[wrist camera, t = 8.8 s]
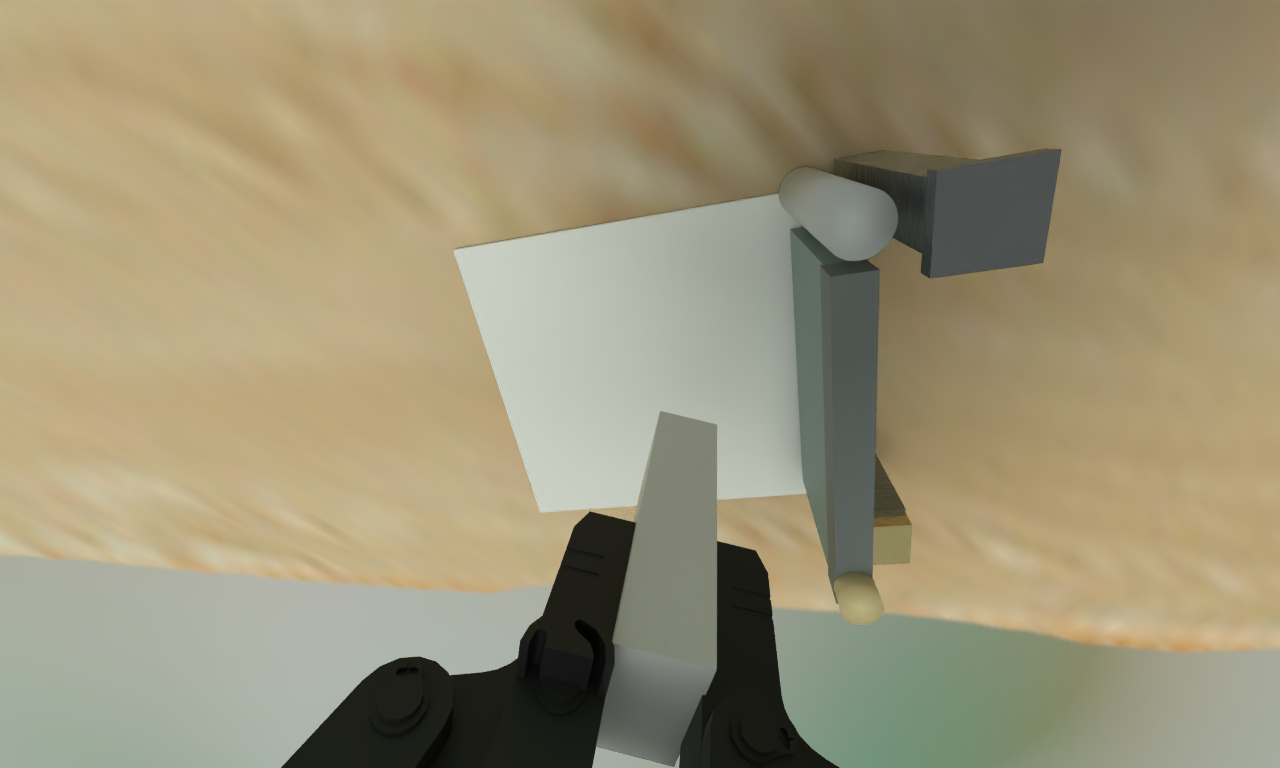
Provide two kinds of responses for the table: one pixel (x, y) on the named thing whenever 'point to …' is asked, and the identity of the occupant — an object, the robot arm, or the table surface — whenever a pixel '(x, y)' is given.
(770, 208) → the mat
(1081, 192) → the table surface
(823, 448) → the gate
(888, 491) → the post
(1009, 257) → the hinge post
